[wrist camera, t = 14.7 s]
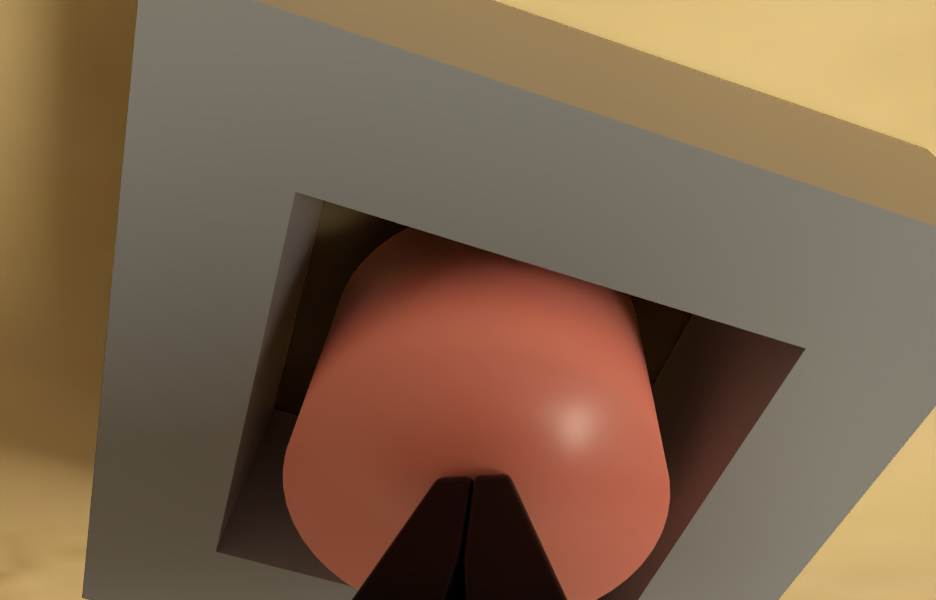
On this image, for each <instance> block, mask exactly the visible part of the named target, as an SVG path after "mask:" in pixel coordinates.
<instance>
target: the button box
mask: <svg viewBox="0 0 936 600" xmlns="http://www.w3.org/2000/svg"><path fill="white" fill-rule="evenodd" d="M324 201H327V202H330V203H334V204H337V205H340V206H343V207H347V208H350V209H353V210H356V211H360V212H363V213H366V214H369V215H373V216H376V217H379V218H382V219H386V220H389V221H392V222H395V223H399V224H402V225H405V226H409V227H412V228H415V229H418V230H422V231H425V232H428V233H431V234H435V235H438V236H441V237H444V238H448V239H451V240H454V241H457V242H461V243H464V244H467V245H470V246H474V247H477V248H480V249H483V250H487V251H490V252H493V253H496V254H500V255H503V256H506V257H509V258H513V259H516V260H519V261H522V262H526V263H529V264H532V265H535V266H539V267H542V268H545V269H548V270H552V271H555V272H558V273H562V274H565V275H568V276H571V277H575V278H578V279H581V280H584V281H588V282H591V283H594V284H597V285H601V286H604V287H607V288H610V289H614V290H617V291H620V292H623V293H627V294H630V295H633V296H636V297H640V298H643V299H646V300H649V301H653V302H656V303H659V304H662V305H666V306H669V307H672V308H675V309H679V310H682V311H685V312H688V313H692V316H691V318H690V320H689V322H688V323H687V325H686V327H685V329H684V330H683V332H682V334H681V336H680V338H679V339H678V341H677V343H676V345H675V347H674V348H673V350H672V352H671V354H670V356H669V357H668V359H667V361H666V363H665V365H664V366H663V368H662V370H661V372H660V373H659V375H658V377H657V379H656V381H655V382H654V384H653V386H652V388H651V390H652V395H653V400H654V405H655V410H656V415H657V420H658V425H659V430H660V435H661V440H662V445H663V450H664V454H665V459H666V464H667V469H668V474H669V479H670V503H669V510H668V516H667V519H666V522H665V525H664V528H663V531H662V534H661V536H660V538H659V540H658V541H657V543H656V545H655V547H654V549H653V550H652V552H651V553H650V554H649V556H648V557H647V558H646V560H645V561H644V562H643V564H642V565H641V566H640V567H639V568H638V569H637V570H636V571H635V572H634V573H633V574H632V575H631V576H630V577H629V578H628V579H626V580H625V581H624V582H623V583H621V584H620V585H619V586H617V587H616V588H615V589H613V590H612V591H610V592H609V593H607V594H605V595H603V596H602V597H600V598H598V599H597V600H779V598H780V597H781V596H782V595H783V593H784V592H785V591H786V590H787V588H788V587H789V586H790V585H791V584H792V582H793V581H794V580H795V579H796V577H797V576H798V575H799V574H800V572H801V571H802V570H803V569H804V568H805V566H806V565H807V564H808V563H809V561H810V560H811V559H812V558H813V556H814V555H815V554H816V553H817V551H818V550H819V549H820V548H821V547H822V545H823V544H824V543H825V542H826V540H827V539H828V538H829V537H830V535H831V534H832V533H833V532H834V531H835V529H836V528H837V527H838V526H839V524H840V523H841V522H842V521H843V519H844V518H845V517H846V516H847V515H848V513H849V512H850V511H851V510H852V508H853V507H854V506H855V505H856V503H857V502H858V501H859V500H860V498H861V497H862V496H863V495H864V494H865V492H866V491H867V490H868V489H869V487H870V486H871V485H872V484H873V482H874V481H875V480H876V479H877V478H878V476H879V475H880V474H881V473H882V471H883V470H884V469H885V468H886V466H887V465H888V464H889V463H890V462H891V460H892V459H893V458H894V457H895V455H896V454H897V453H898V452H899V450H900V449H901V448H902V447H903V446H904V444H905V443H906V442H907V441H908V439H909V438H910V437H911V436H912V434H913V433H914V432H915V431H916V429H917V428H918V427H919V426H920V425H921V423H922V422H923V421H924V420H925V418H926V417H927V416H928V415H929V413H930V412H931V411H932V410H933V409H934V407H935V406H936V157H935V156H934V155H933V154H932V153H930V152H929V151H928V150H927V149H925V148H922V147H919V146H916V145H913V144H910V143H907V142H904V141H901V140H898V139H896V138H893V137H890V136H887V135H884V134H881V133H878V132H875V131H872V130H869V129H866V128H863V127H860V126H858V125H855V124H852V123H849V122H846V121H843V120H840V119H837V118H834V117H831V116H828V115H825V114H823V113H820V112H817V111H814V110H811V109H808V108H805V107H802V106H799V105H796V104H793V103H790V102H787V101H785V100H782V99H779V98H776V97H773V96H770V95H767V94H764V93H761V92H758V91H755V90H752V89H750V88H747V87H744V86H741V85H738V84H735V83H732V82H729V81H726V80H723V79H720V78H717V77H714V76H712V75H709V74H706V73H703V72H700V71H697V70H694V69H691V68H688V67H685V66H682V65H679V64H677V63H674V62H671V61H668V60H665V59H662V58H659V57H656V56H653V55H650V54H647V53H644V52H642V51H639V50H636V49H633V48H630V47H627V46H624V45H621V44H618V43H615V42H612V41H609V40H606V39H604V38H601V37H598V36H595V35H592V34H589V33H586V32H583V31H580V30H577V29H574V28H571V27H569V26H566V25H563V24H560V23H557V22H554V21H551V20H548V19H545V18H542V17H539V16H536V15H533V14H531V13H528V12H525V11H522V10H519V9H516V8H513V7H510V6H507V5H504V4H501V3H498V2H496V1H493V0H138V7H137V17H136V28H135V39H134V49H133V60H132V71H131V81H130V92H129V103H128V113H127V124H126V135H125V145H124V156H123V167H122V177H121V188H120V199H119V209H118V220H117V231H116V241H115V252H114V263H113V273H112V284H111V295H110V305H109V316H108V327H107V337H106V348H105V359H104V369H103V380H102V391H101V401H100V412H99V423H98V433H97V444H96V455H95V465H94V476H93V487H92V497H91V508H90V519H89V529H88V540H87V551H86V561H85V572H84V583H83V594H82V598H85V599H89V600H352V599H353V597H354V596H355V594H356V593H357V592H358V590H356V589H355V588H353V587H352V586H350V585H349V584H347V583H345V582H344V581H343V580H341V579H340V578H339V577H338V576H336V575H335V574H334V573H333V572H331V571H330V570H329V569H328V568H327V567H326V566H325V565H324V564H323V563H322V562H321V561H320V560H319V559H318V558H317V557H316V556H315V555H314V554H313V552H312V551H311V550H310V548H309V547H308V546H307V545H306V543H305V542H304V541H303V539H302V538H301V536H300V534H299V532H298V530H297V529H296V527H295V525H294V523H293V521H292V518H291V515H290V513H289V510H288V507H287V504H286V499H285V494H284V489H283V465H284V460H285V454H286V449H287V446H288V444H289V441H290V438H291V435H292V433H293V430H294V427H295V424H296V421H297V419H298V416H297V415H294V414H290V413H286V412H283V411H279V410H275V409H274V405H275V401H276V397H277V392H278V388H279V384H280V380H281V376H282V372H283V368H284V364H285V360H286V355H287V351H288V347H289V343H290V339H291V335H292V331H293V327H294V323H295V318H296V314H297V310H298V306H299V302H300V298H301V294H302V290H303V286H304V281H305V277H306V273H307V269H308V265H309V261H310V257H311V253H312V249H313V244H314V240H315V236H316V232H317V228H318V224H319V220H320V216H321V212H322V207H323V203H324Z"/></svg>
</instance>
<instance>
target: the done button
mask: <svg viewBox="0 0 936 600" xmlns="http://www.w3.org/2000/svg"><path fill="white" fill-rule="evenodd" d="M495 474H507V475H509V476H510V477H511V478H512V480H513V482H514V485H515V487H516V489H517V491H518V493H519V495H520V498H521V500H522V502H523V504H524V506H525V509H526V511H527V513H528V515H529V517H530V519H531V522H532V524H533V526H534V528H535V530H536V532H537V535H538V537H539V539H540V541H541V543H542V545H543V548H544V550H545V552H546V554H547V556H548V559H549V561H550V563H551V565H552V567H553V569H554V572H555V574H556V576H557V578H558V580H559V582H560V585H561V587H562V589H563V591H564V593H565V595H566V598H567V600H597V599H598V598H600V597H602V596H603V595H605V594H607V593H609V592H610V591H612V590H613V589H615V588H616V587H617V586H619V585H620V584H621V583H623V582H624V581H625V580H626V579H628V578H629V577H630V576H631V575H632V574H633V573H634V572H635V571H636V570H637V569H638V568H639V567H640V566H641V565H642V564H643V562H644V561H645V560H646V558H647V557H648V556H649V554H650V553H651V552H652V550H653V549H654V547H655V545H656V543H657V541H658V540H659V538H660V536H661V534H662V531H663V528H664V525H665V522H666V519H667V516H668V510H669V503H670V479H669V474H668V469H667V464H666V459H665V454H664V450H663V445H662V440H661V435H660V430H659V425H658V420H657V415H656V410H655V405H654V400H653V395H652V390H651V385H650V380H649V375H648V370H647V365H646V360H645V356H644V351H643V346H642V341H641V336H640V331H639V326H638V321H637V317H636V312H635V309H634V306H633V304H632V301H631V299H630V296H629V294H627V293H623V292H620V291H617V290H614V289H610V288H607V287H604V286H601V285H597V284H594V283H591V282H588V281H584V280H581V279H578V278H575V277H571V276H568V275H565V274H562V273H558V272H555V271H552V270H548V269H545V268H542V267H539V266H535V265H532V264H529V263H526V262H522V261H519V260H516V259H513V258H509V257H506V256H503V255H500V254H496V253H493V252H490V251H487V250H483V249H480V248H477V247H474V246H470V245H467V244H464V243H461V242H457V241H454V240H451V239H448V238H444V237H441V236H438V235H435V234H431V233H428V232H425V231H422V230H418V229H415V228H412V227H409V228H407V229H405V230H403V231H401V232H400V233H398V234H396V235H394V236H392V237H391V238H389V239H388V240H387V241H385V242H384V243H382V244H381V245H380V246H378V247H377V248H376V249H375V250H374V251H373V252H372V253H371V254H370V255H368V256H367V257H366V258H365V259H364V260H363V261H362V263H361V264H360V265H359V267H358V268H357V269H356V271H355V272H354V273H353V274H352V276H351V278H350V280H349V281H348V283H347V285H346V287H345V289H344V291H343V293H342V296H341V299H340V302H339V305H338V307H337V310H336V313H335V316H334V318H333V321H332V324H331V327H330V330H329V332H328V335H327V338H326V341H325V343H324V346H323V349H322V352H321V355H320V357H319V360H318V363H317V366H316V369H315V371H314V374H313V377H312V380H311V382H310V385H309V388H308V391H307V394H306V396H305V399H304V402H303V405H302V407H301V410H300V413H299V416H298V419H297V421H296V424H295V427H294V430H293V433H292V435H291V438H290V441H289V444H288V446H287V449H286V454H285V460H284V465H283V489H284V494H285V499H286V504H287V507H288V510H289V513H290V515H291V518H292V521H293V523H294V525H295V527H296V529H297V530H298V532H299V534H300V536H301V538H302V539H303V541H304V542H305V543H306V545H307V546H308V547H309V548H310V550H311V551H312V552H313V554H314V555H315V556H316V557H317V558H318V559H319V560H320V561H321V562H322V563H323V564H324V565H325V566H326V567H327V568H328V569H329V570H330V571H331V572H333V573H334V574H335V575H336V576H338V577H339V578H340V579H341V580H343V581H344V582H345V583H347V584H349V585H350V586H352V587H353V588H355V589H356V590H359V589H360V587H361V586H362V584H363V583H364V582H365V580H366V579H367V577H368V576H369V574H370V573H371V572H372V570H373V569H374V567H375V566H376V564H377V563H378V562H379V560H380V559H381V557H382V556H383V554H384V553H385V552H386V550H387V549H388V547H389V546H390V544H391V543H392V542H393V540H394V539H395V537H396V536H397V534H398V533H399V532H400V530H401V529H402V527H403V526H404V525H405V523H406V522H407V520H408V519H409V517H410V516H411V515H412V513H413V512H414V510H415V509H416V507H417V506H418V505H419V503H420V502H421V500H422V499H423V497H424V496H425V495H426V493H427V492H428V490H429V489H430V487H431V486H432V485H433V483H434V482H435V481H436V480H437V479H439V478H441V477H457V476H469V477H471V478H472V479H473V481H474V479H475V478H476V477H477V476H479V475H495Z"/></svg>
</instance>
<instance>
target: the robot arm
mask: <svg viewBox="0 0 936 600" xmlns="http://www.w3.org/2000/svg"><path fill="white" fill-rule="evenodd" d="M352 600H567V598H566V595H565V593H564V591H563V589H562V587H561V585H560V582H559V580H558V578H557V576H556V574H555V572H554V569H553V567H552V565H551V563H550V561H549V559H548V556H547V554H546V552H545V550H544V548H543V545H542V543H541V541H540V539H539V537H538V535H537V532H536V530H535V528H534V526H533V524H532V522H531V519H530V517H529V515H528V513H527V511H526V509H525V506H524V504H523V502H522V500H521V498H520V495H519V493H518V491H517V489H516V487H515V485H514V482H513V480H512V478H511V477H510V476H509V475H507V474H495V475H479V476H477V477H476V478H475V479H474V481H473V479H472V478H471V477H469V476H457V477H441V478H439V479H437V480H436V481H435V482H434V483H433V485H432V486H431V487H430V489H429V490H428V492H427V493H426V495H425V496H424V497H423V499H422V500H421V502H420V503H419V505H418V506H417V507H416V509H415V510H414V512H413V513H412V515H411V516H410V517H409V519H408V520H407V522H406V523H405V525H404V526H403V527H402V529H401V530H400V532H399V533H398V534H397V536H396V537H395V539H394V540H393V542H392V543H391V544H390V546H389V547H388V549H387V550H386V552H385V553H384V554H383V556H382V557H381V559H380V560H379V562H378V563H377V564H376V566H375V567H374V569H373V570H372V572H371V573H370V574H369V576H368V577H367V579H366V580H365V582H364V583H363V584H362V586H361V587H360V589H359V590H358V592H357V593H356V594H355V596H354V597H353V599H352Z"/></svg>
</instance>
